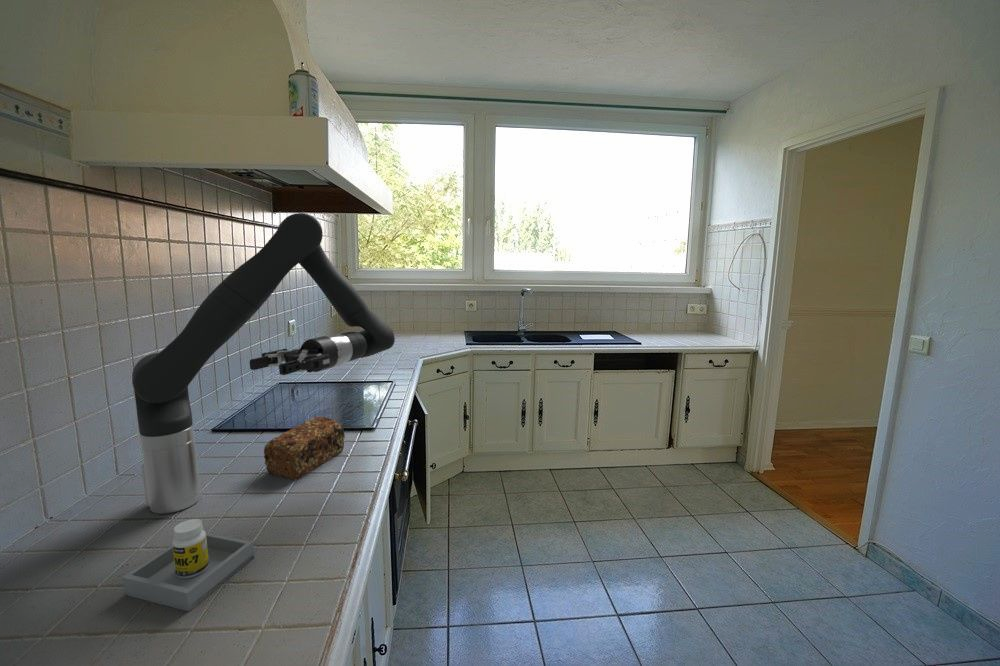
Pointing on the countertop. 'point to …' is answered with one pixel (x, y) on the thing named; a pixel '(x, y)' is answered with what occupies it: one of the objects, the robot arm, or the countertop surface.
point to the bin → (167, 589)
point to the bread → (304, 447)
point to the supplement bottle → (190, 549)
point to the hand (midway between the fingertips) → (265, 367)
